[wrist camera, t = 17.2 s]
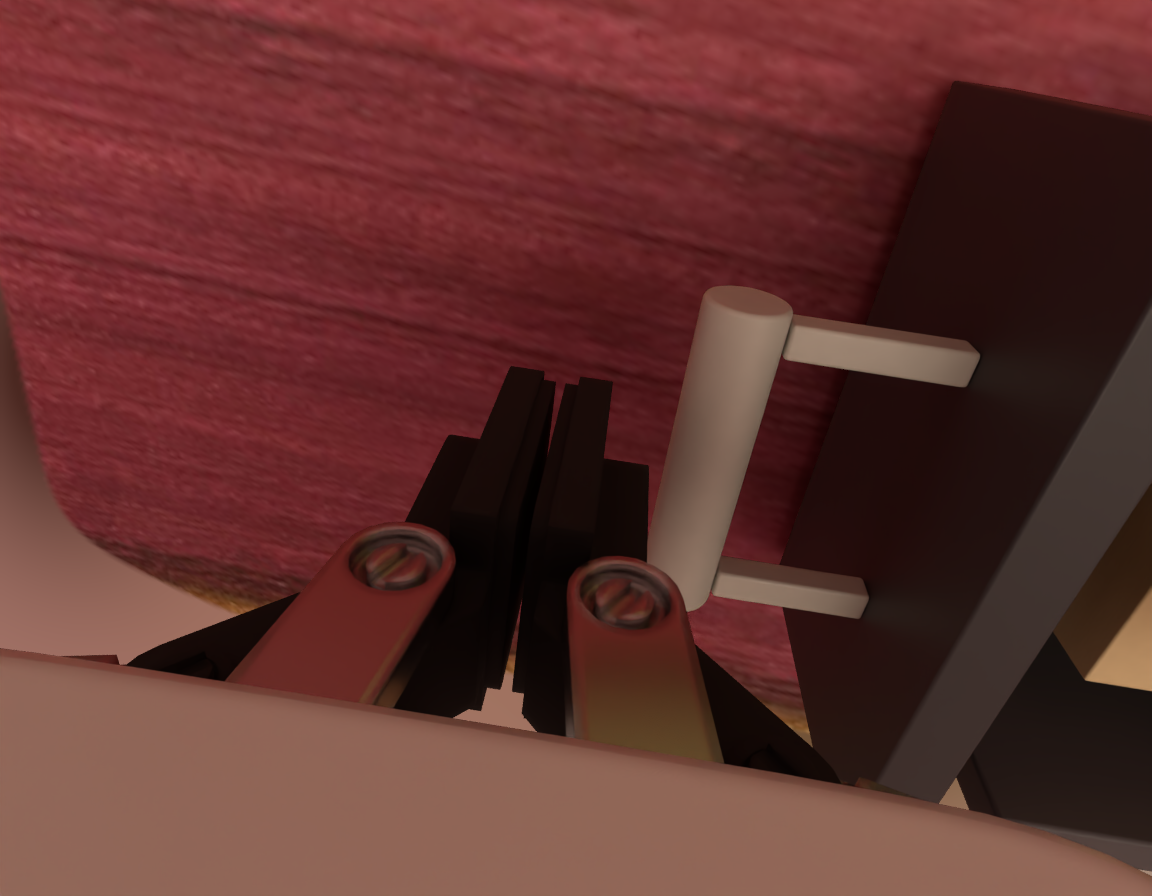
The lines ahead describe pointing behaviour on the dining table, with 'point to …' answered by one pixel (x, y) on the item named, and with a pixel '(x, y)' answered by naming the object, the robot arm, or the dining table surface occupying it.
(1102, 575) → the block
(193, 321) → the dining table surface
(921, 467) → the pull-out tray
